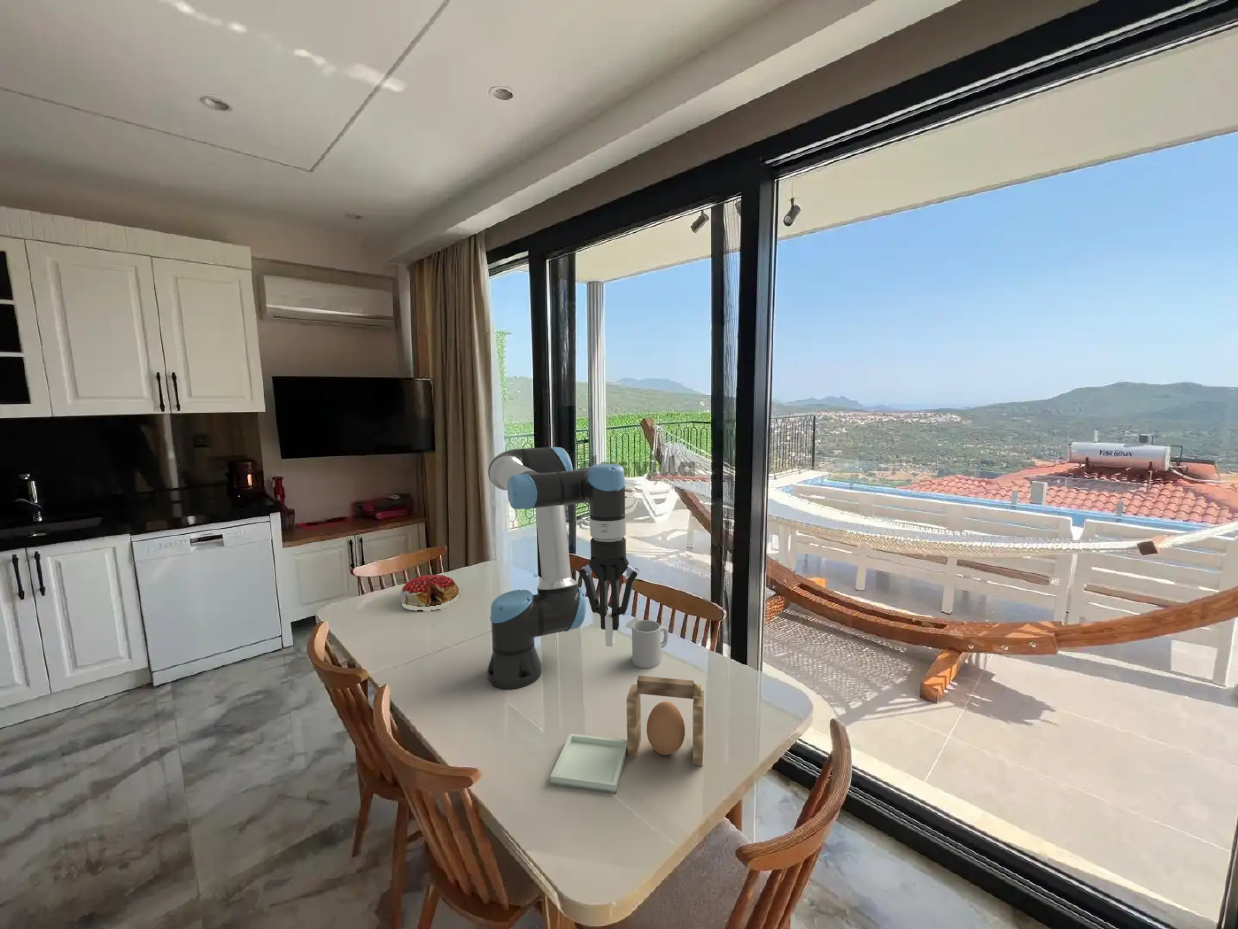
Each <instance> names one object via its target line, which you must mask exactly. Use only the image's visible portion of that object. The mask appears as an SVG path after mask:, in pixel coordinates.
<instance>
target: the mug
mask: <svg viewBox="0 0 1238 929" xmlns="http://www.w3.org/2000/svg"><path fill="white" fill-rule="evenodd" d="M661 632H663V639H662V640H661V637H662V634H661ZM668 639H669V633H668V629H667V627H666V626H664V625H661V624H660V623H659V622H657V621H654V620H651V619H650V620H649V619H644V620H637V621H635V622H634V623H633V624H632V625H631V645H632V646H631V655H632V656H631V661H632V664H633V665H634V666H636V667H637V668H640V669H641V668H642V669H652V668H656V667H658V666H659V665H660V664H661V663H662V649H663V648H665V647H666V646H667V644H668Z"/></svg>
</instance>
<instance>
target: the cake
mask: <svg viewBox="0 0 1238 929" xmlns="http://www.w3.org/2000/svg"><path fill="white" fill-rule="evenodd" d="M459 589H460V588H459V586H458V585H457V584H456V582H455V581H454V579H453V578H451V577H448V576H446V575H442V574H425V575H421V576H417V577H415V578H413V579H411V580H409V581H407V582H406V583H405V584H404V585H403V587H402V588H401V591H400V594H399V596H400V603H401V602H402V603H403V604H406V605H412V606H417V607H430V606H436V605H441V604H442V603H445V602H448V601H451V600H453V599H454V598H455V597H456V596H457V595H460V592H459Z"/></svg>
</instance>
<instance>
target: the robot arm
mask: <svg viewBox="0 0 1238 929" xmlns="http://www.w3.org/2000/svg"><path fill="white" fill-rule="evenodd" d="M487 474H488V478H489V480H490V482H491V483H492V485H493V486H495V487H496V488H497V489H499V490H503V491H507V501H508V502H509V506H510V507H511V508H512V509H513V510H530V509H531V510H532V509H535V517H536V530H537V539H538V540H537V542H538V551H539V561H540V562H539V563H540V575H541V581H540V583H539V584H538V585H537V586H536V587H537V588H536V590H537V593H536V594H533V593H532V591H530V590H528V589H522V590H521V589H514V590H511V591H506V592H504V593H502V594H501V595H499V596H497V597H496V598H495V599H493V601H492V603H491V605H490V618H489V619H490V622H491V642H492V643H491V644H492V646H491V648H492V653H491V656H490V660H489V663H488V666H487V669H486V670H487V676H486V677H487V682H488V681H489V682H490V683H491V684H492V685H491V684H490V683H489V682H488V683H489V684H490V685H491V686H493V687H495V688H497V687H498V689H501V690H502V689H503V690H513V689H521V688H524V687H527V686H529V685H531V684H533V683H535V682H536V681H537V680H538V679H539V678H541V676H542V672H543V671H542V663H541V660H540V657H539V653H538V652H537V649H536V647H535V638H538V637H543V636H548V635H552V634H557V633H563V632H565V633H566V632H569V631H572V630H575V629H579V628H580V627H581V626H582V625H583V623H584V621H585V618H586V612H587V603H586V602H587V601H586V597H585V592H584V589H583V588H582V587H580V586H578V583H577V582H578V581H576V579H573V577H572V572H571V563H570V561H571V560H570V553H569V552H570V551H569V543H568V542H569V541H568V530H567V519H566V508H565V506H568V505H578V504H588V505H589V531H590V532H589V534H590V537H591V539H590V541H589V542H590V559H589V561H588V564H586V565H583V566H582V567H581V568H580V569H579V571H578V574H579V575H580V577H581V579H582V580H583V583H584V587H585V589H586V594H587V598H588V603H589V605H590V606H589V607H590V609H591V612H592V613H593V614H594V613H596V614H599V616H600V628H601V630H604V631H605V632H604V633H605V636H604V637H605V638H604V639H605V646H606V647H613V646H614V645H615V642H616V631H618V629H619V627H620V615H621V616H622V615H625V614H626V612H627V610H628V609H629V608H628V607H629V603H630V599H631V595H632V590H633V586H634V582H635V579H637V576H638V574H639V573H640V571H639V569H638V568H633V566H631V565H629V564H630V563H629V561H628V559H627V539H626V534H627V532H626V531H627V530H626V529H627V528H626V527H627V526H626V479H625V478H626V477H625V468H624V466H622V465H620V464H618V463H616V464H614V463H600V464H592V465H591V466H590V467H579V468H578V469H575V470H574V468H573V464H572V460H571V457H570V456H569V453H568V452H567V451H566V450H565V448H563V447H559V446H556V447H555V446H544V447H528V448H514V449H509V450H506V451H502V452H501V453H498V455H495V457H494V458H493V459H492V460H491V461H490V464H489V465H488V470H487ZM592 572H593V574H594V575H595V576H596V577H597V579H598V586H599V587H598V588H599V590H598V591H599V597H598V593H597V591H596V586H595V582H594V579H593V575H592ZM625 572H626V574H625V575H626V578H627V579H626V584H625V588H624V591H623V596H622V602H621V605H620V579H621V577H622V576H623V574H624V573H625ZM608 581H609V582H610V594H611V596H610V597H611V598H610V600H611V602H610V603H611V612H610V611H608V610H609V607H608V606H609V605H608V604H609V603H608V602H609V601H608V599H609V597H608V595H609V594H608Z"/></svg>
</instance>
